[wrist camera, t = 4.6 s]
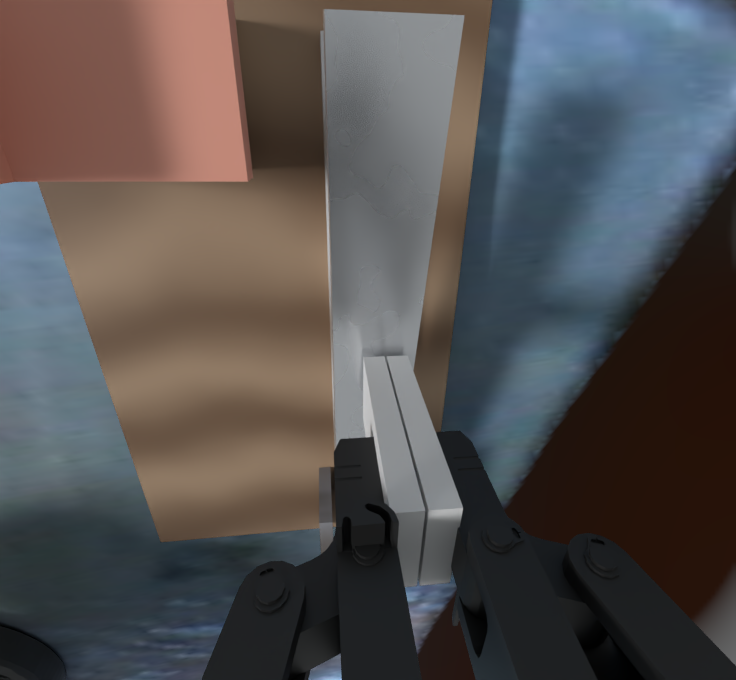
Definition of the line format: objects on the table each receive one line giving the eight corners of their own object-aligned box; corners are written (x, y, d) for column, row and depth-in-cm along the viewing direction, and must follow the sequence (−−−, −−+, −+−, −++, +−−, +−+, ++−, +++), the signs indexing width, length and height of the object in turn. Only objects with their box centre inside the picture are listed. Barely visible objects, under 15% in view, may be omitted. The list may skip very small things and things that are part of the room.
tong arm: (385, 513, 25) (389, 537, 24) (337, 517, 25) (338, 542, 23) (446, 14, 10) (464, 15, 9) (323, 9, 10) (324, 9, 8)
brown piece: (425, 500, 29) (446, 573, 25) (168, 522, 28) (136, 606, 23) (484, -42, 16) (558, -119, 11) (-21, -72, 14) (-203, -181, 9)
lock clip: (253, 177, 14) (221, 200, 9) (-1, 177, 13) (-176, 202, 8) (232, -10, 12) (175, -105, 7) (-78, -25, 11) (-377, -143, 6)
